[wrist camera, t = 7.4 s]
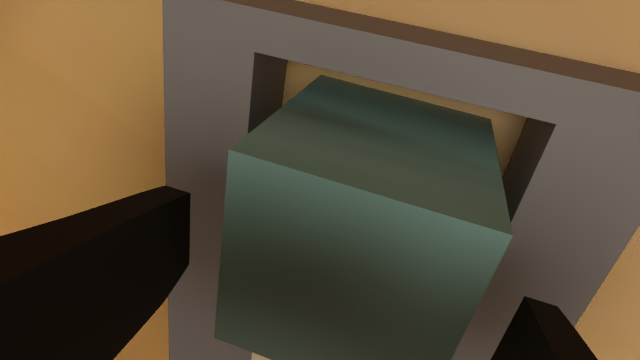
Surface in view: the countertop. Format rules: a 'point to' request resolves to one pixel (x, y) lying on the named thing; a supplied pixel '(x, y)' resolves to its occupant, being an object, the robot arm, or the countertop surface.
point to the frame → (420, 75)
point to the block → (359, 228)
